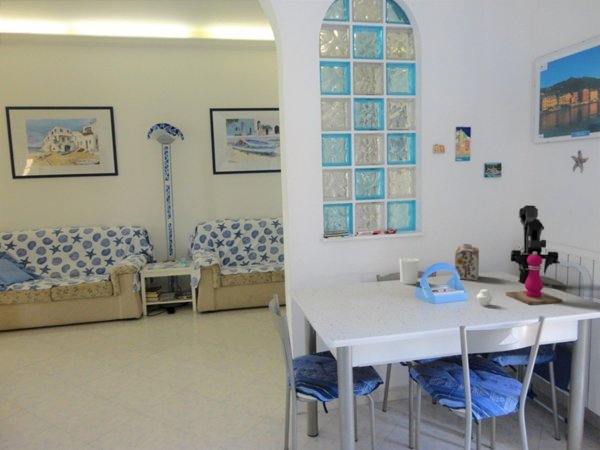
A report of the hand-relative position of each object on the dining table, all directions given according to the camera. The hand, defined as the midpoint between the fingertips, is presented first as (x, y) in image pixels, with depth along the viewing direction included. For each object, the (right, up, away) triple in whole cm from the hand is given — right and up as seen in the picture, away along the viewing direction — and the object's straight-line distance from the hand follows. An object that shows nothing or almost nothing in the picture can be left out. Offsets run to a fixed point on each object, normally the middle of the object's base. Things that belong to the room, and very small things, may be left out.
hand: (534, 272), depth 198 cm
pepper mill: (+1, -11, +3) cm, 11 cm away
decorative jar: (-13, -8, +45) cm, 47 cm away
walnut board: (+1, -12, +3) cm, 12 cm away
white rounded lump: (-24, -13, -5) cm, 28 cm away
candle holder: (-46, -9, +36) cm, 60 cm away
